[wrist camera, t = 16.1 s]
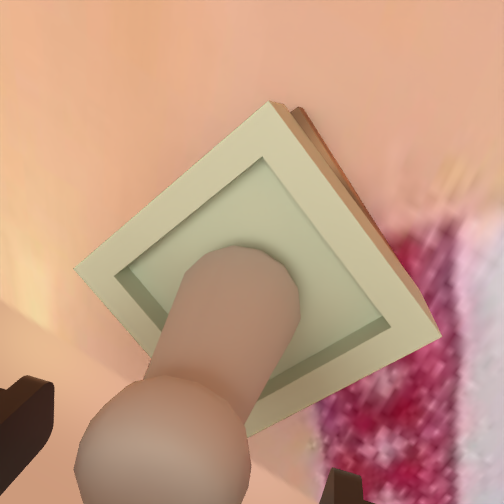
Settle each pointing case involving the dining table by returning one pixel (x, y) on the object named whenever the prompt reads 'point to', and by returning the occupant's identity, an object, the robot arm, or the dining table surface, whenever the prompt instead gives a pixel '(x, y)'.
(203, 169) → the top block
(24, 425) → the robot arm
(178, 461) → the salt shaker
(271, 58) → the dining table surface
